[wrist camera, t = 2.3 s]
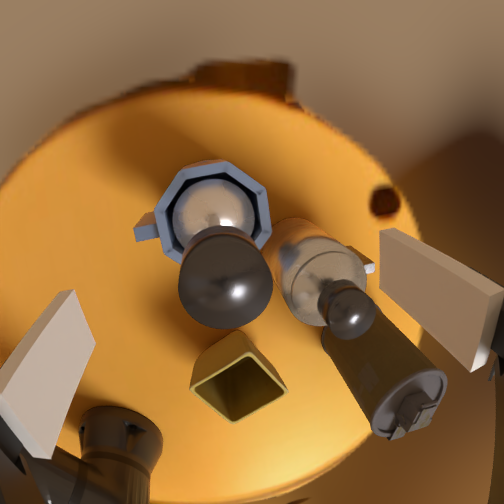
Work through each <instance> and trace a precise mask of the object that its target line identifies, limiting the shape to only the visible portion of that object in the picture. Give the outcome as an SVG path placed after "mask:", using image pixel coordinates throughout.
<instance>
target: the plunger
mask: <svg viewBox="0 0 504 504" xmlns="http://www.w3.org/2000/svg"><path fill="white" fill-rule="evenodd" d="M253 228H254V210H253V207H252V204H251V202H250V200H249V198H248V197H247V195H246V194H245V193H244V192H243V191H242V190H241V189H240V188H239V187H238V186H236V185H235V184H233V183H231V182H229V181H226V180H223V179H205V180H201V181H199V182H196V183H194V184H193V185H191V186H190V187H188V188H187V189H186V190H185V191H184V192H183V193H182V194H181V196H180V197H179V199H178V201H177V203H176V205H175V208H174V212H173V229H174V232H175V235H176V237H177V239H178V241H179V242H180V244H181V245H182V246H183V247H184V248H185V249H184V252H183V256H182V262H181V268H180V275H179V283H178V292H179V297H180V300H181V303H182V305H183V307H184V308H185V310H186V311H187V313H188V314H189V315H190V316H191V317H192V318H194V319H195V320H196V321H198V322H199V323H201V324H203V325H205V326H208V327H212V328H216V329H231V328H237V327H240V326H243V325H245V324H247V323H249V322H251V321H253V320H254V319H255V318H257V317H258V316H259V315H260V314H261V313H262V312H263V311H264V309H265V308H266V306H267V305H268V303H269V301H270V298H271V295H272V290H273V279H272V274H271V271H270V268H269V267H268V265H267V263H266V261H265V259H264V258H263V256H262V254H261V252H260V250H259V249H258V247H257V245H256V243H255V242H254V241H253V239H252V238H251V237H250V236H251V234H252V231H253Z"/></svg>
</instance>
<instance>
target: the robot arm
mask: <svg viewBox="0 0 504 504" xmlns="http://www.w3.org/2000/svg"><path fill="white" fill-rule="evenodd" d="M379 233H380V285H379V288H380V289H381V290H382V291H383V292H384V293H386V294H387V295H388V296H389V297H390V298H391V299H392V300H394V301H395V302H396V303H397V304H398V305H399V306H400V307H401V308H402V309H404V310H405V311H406V312H407V313H408V314H409V315H410V316H411V317H412V318H413V319H415V320H416V321H417V322H418V323H419V324H420V325H421V326H422V327H423V328H424V329H425V330H427V331H428V332H429V333H430V334H431V335H432V336H433V337H434V338H435V339H436V340H437V341H438V342H439V343H440V344H441V345H443V346H444V347H445V348H446V349H447V350H448V351H449V352H450V353H451V354H452V355H453V356H454V357H455V358H456V359H457V360H458V361H459V362H460V363H461V364H462V365H463V366H464V367H465V368H466V369H467V370H468V371H469V372H472V371H474V370H476V369H477V368H479V367H481V366H483V365H485V364H486V362H487V359H488V356H489V352H490V349H492V350H493V351H494V352H496V353H497V355H496V358H495V361H494V364H493V367H492V370H491V373H490V375H489V379H488V381H491V379H492V377H493V375H494V374H495V387H496V429H495V448H494V449H495V450H494V461H493V471H492V479H491V486H490V493H489V500H488V504H504V287H503V286H502V285H500V284H498V283H497V282H495V281H493V280H492V279H489V278H488V277H487V276H485V275H481V273H480V272H478V271H476V270H474V269H473V268H471V267H467V266H465V265H463V264H462V263H460V262H458V261H456V260H454V259H452V258H451V257H449V256H447V255H445V254H443V253H442V252H440V251H438V250H436V249H434V248H432V247H430V246H428V245H427V244H425V243H423V242H421V241H419V240H417V239H415V238H413V237H411V236H409V235H407V234H405V233H403V232H401V231H399V230H397V229H395V228H391V229H385V230H380V231H379ZM95 345H96V343H95V341H94V338H93V336H92V334H91V331H90V329H89V326H88V324H87V322H86V319H85V317H84V314H83V312H82V309H81V306H80V304H79V301H78V299H77V296H76V293H75V290H74V289H72V290H67V291H62V292H59V293H58V294H57V296H56V297H55V298H54V299H53V300H52V302H51V303H50V304H49V305H48V307H47V308H46V309H45V310H44V312H43V313H42V314H41V315H40V317H39V318H38V319H37V320H36V322H35V323H34V324H33V325H32V327H31V328H30V329H29V331H28V332H27V333H26V335H25V336H24V337H23V339H22V340H21V341H20V343H19V344H18V345H17V347H16V348H15V349H14V351H13V352H12V353H11V355H10V356H9V358H8V359H7V360H6V361H5V362H4V364H3V365H2V367H1V368H0V504H149V497H150V476H151V473H152V471H153V469H154V467H155V465H156V463H157V461H158V459H159V457H160V456H161V453H162V448H163V437H162V434H161V432H160V430H159V429H158V428H157V426H156V425H155V424H154V423H152V422H151V421H150V420H149V419H147V418H146V417H144V416H142V415H140V414H138V413H136V412H133V411H131V410H128V409H124V408H120V407H113V406H101V407H95V408H92V409H90V410H88V411H87V412H86V413H85V414H84V415H83V417H82V419H81V422H80V425H79V440H80V448H81V459H79V458H77V457H76V456H74V455H72V454H70V453H69V452H67V451H65V450H63V449H62V448H60V447H58V446H56V443H57V440H58V437H59V434H60V431H61V428H62V426H63V423H64V420H65V417H66V415H67V412H68V409H69V407H70V404H71V402H72V399H73V397H74V394H75V392H76V389H77V387H78V384H79V382H80V379H81V377H82V375H83V372H84V370H85V367H86V365H87V363H88V360H89V358H90V356H91V354H92V351H93V349H94V347H95Z"/></svg>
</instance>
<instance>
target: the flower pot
mask: <svg viewBox="0 0 504 504" xmlns="http://www.w3.org/2000/svg"><path fill="white" fill-rule="evenodd" d="M189 390H190V391H191V392H192V393H193V394H194V395H195V396H197V397H198V398H199V399H200V400H202V401H203V402H204V403H205V404H207V405H208V406H209V407H210V408H212V409H213V410H214V411H215V412H216V413H218V414H219V415H220V416H221V417H222V418H224V419H225V420H226V421H228V422H229V423H231V424H236V423H238V422H240V421H241V420H243V419H245V418H247V417H248V416H250V415H252V414H253V413H255V412H257V411H259V410H260V409H262V408H264V407H266V406H267V405H269V404H271V403H273V402H275V401H277V400H278V399H280V398H282V397H283V396H285V395H286V394H287V393H288V392H289V391H288V389H287V388H286V386H285V384H284V382H283V381H282V379H281V377H280V376H279V374H278V372H277V371H276V369H275V368H274V366H273V365H272V364H271V363H270V362H269V361H268V360H267V359H266V358H265V356H264V355H263V354H262V353H261V352H260V351H259V350H258V349H257V348H256V347H255V346H254V344H253V343H252V342H251V341H250V340H249V339H248V337H247V336H246V335H245V334H244V333H243V332H242V331H239V330H237V331H233V332H232V333H230V334H229V335H227V336H226V337H224V338H223V339H221V340H220V341H218V342H217V343H215V344H214V345H212V346H210V347H209V348H208V349H207V350H205V351H204V352H203V353H202V354H201V355H200V356H199V357H198V359H197V360H196V362H195V364H194V368H193V372H192V377H191V382H190V387H189Z"/></svg>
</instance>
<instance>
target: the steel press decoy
mask: <svg viewBox="0 0 504 504" xmlns="http://www.w3.org/2000/svg"><path fill="white" fill-rule="evenodd" d="M262 256H263V258H264V259H265V261H266V263H267V265H268V267H269V268H270V271H271V274H272V277H273V279H274V281H275V283H276V285H277V287H278V288H279V290H280V292H281V294H282V296H283V298H284V299H285V301H286V303H287V305H288V307H289V309H290V310H291V312H292V313H293V315H294V316H295V317H296V318H297V319H298V320H300V321H301V322H303V323H305V324H308V325H312V326H326V325H327V326H328V327H329V328H330V330H331V331H332V333H333V334H334V335H335V336H336V337H338V338H340V339H344V340H349V339H354V338H357V337H359V336H360V335H362V334H363V333H365V332H366V331H367V330H368V329H369V328H370V326H371V325H372V323H373V321H374V319H375V315H376V306H375V303H374V301H373V300H372V299H371V298H370V297H369V296H368V295H367V294H366V293H365V289H366V281H367V277H366V274H368V273H372V272H375V263H374V262H373V261H371V260H370V259H369V258H367V257H366V256H364V255H363V254H362V253H360V252H359V251H357V250H356V249H354V248H353V247H352V246H346V247H345V246H344V245H342V244H341V243H340V242H338V241H337V240H336V239H334V238H333V237H331V236H330V235H329V234H327V233H326V232H324V231H323V230H322V229H320V228H319V227H317V226H316V225H315V224H313V223H312V222H310V221H308V220H306V219H303V218H297V217H293V218H287V219H284V220H282V221H280V222H278V223H276V224H275V225H274V226H273V227H272V234H271V236H270V237H269V238H268V240H267V241H266V242H265V244H264V245H263V247H262Z"/></svg>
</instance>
